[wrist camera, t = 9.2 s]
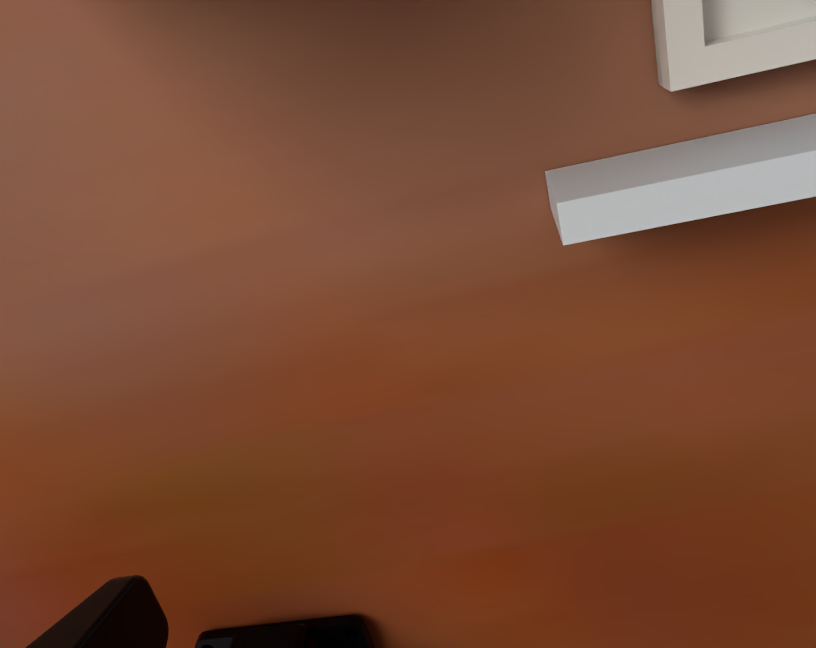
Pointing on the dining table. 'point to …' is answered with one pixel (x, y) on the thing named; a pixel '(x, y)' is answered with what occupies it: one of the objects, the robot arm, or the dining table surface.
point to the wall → (685, 181)
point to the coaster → (729, 38)
